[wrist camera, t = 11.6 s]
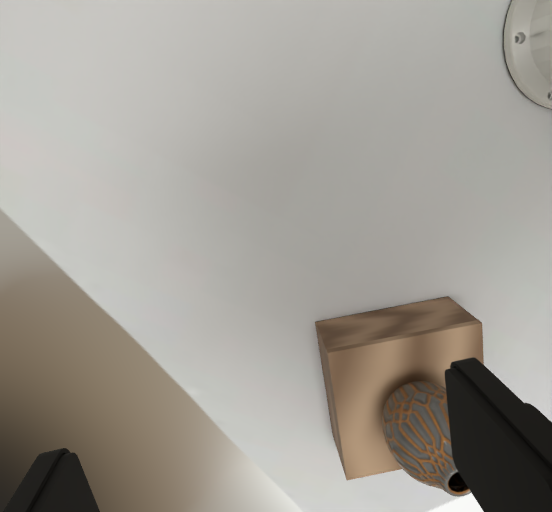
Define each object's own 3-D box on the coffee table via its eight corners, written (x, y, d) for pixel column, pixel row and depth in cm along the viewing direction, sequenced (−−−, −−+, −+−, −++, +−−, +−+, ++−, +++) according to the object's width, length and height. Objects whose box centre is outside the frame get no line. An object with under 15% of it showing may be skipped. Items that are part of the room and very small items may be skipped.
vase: (466, 398, 37) (532, 475, 29) (409, 450, 38) (456, 539, 30) (414, 352, 36) (467, 420, 27) (355, 408, 37) (390, 490, 28)
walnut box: (448, 296, 41) (482, 323, 36) (454, 410, 45) (486, 451, 39) (315, 322, 41) (327, 353, 35) (332, 435, 45) (346, 480, 39)
